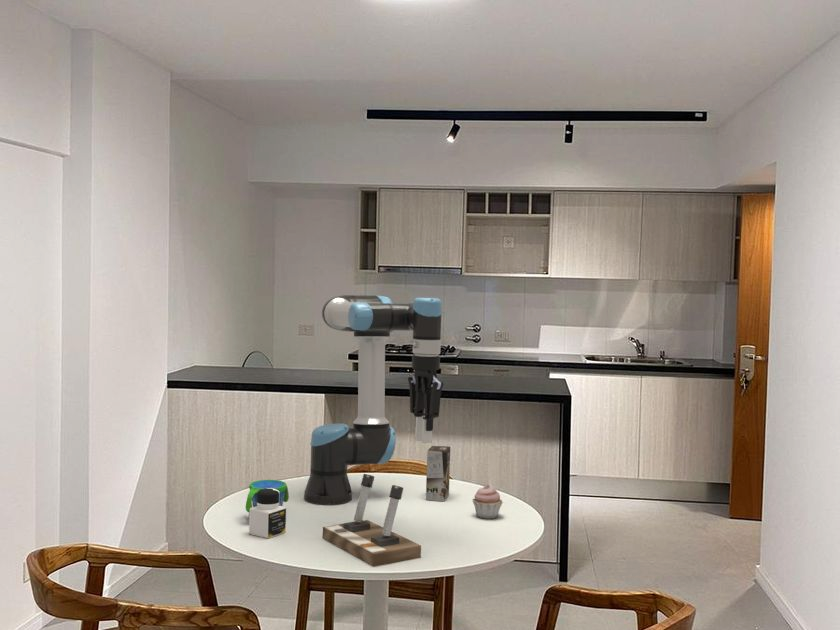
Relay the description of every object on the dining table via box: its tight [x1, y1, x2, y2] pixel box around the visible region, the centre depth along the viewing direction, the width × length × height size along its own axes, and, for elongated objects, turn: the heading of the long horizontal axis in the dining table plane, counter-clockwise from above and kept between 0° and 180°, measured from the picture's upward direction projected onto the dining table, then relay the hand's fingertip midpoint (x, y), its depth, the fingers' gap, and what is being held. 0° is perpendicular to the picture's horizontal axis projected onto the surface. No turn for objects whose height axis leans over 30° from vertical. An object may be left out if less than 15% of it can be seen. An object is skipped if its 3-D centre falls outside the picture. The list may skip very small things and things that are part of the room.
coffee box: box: [425, 445, 451, 502], centre depth 275 cm, size 9×6×16 cm
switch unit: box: [322, 519, 422, 567], centre depth 222 cm, size 26×14×4 cm, turn 35°
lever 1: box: [353, 473, 375, 522], centre depth 228 cm, size 3×3×12 cm
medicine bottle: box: [248, 488, 287, 539], centre depth 231 cm, size 7×7×12 cm
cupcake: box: [471, 483, 504, 520], centre depth 255 cm, size 9×9×10 cm
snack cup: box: [245, 479, 290, 514], centre depth 245 cm, size 16×10×10 cm
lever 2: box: [382, 484, 404, 536], centre depth 217 cm, size 3×3×12 cm
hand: (423, 441), depth 230 cm, fingers open, 3 cm apart
